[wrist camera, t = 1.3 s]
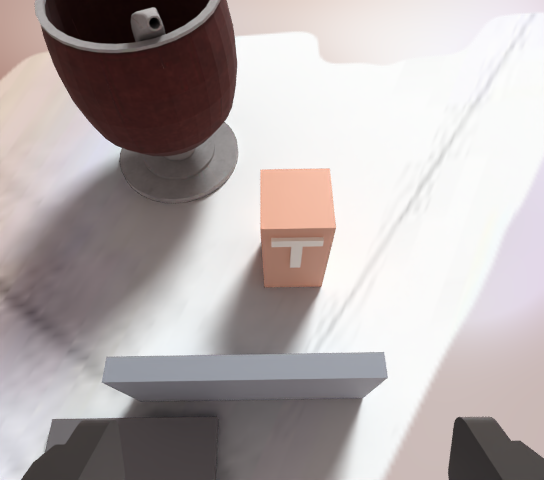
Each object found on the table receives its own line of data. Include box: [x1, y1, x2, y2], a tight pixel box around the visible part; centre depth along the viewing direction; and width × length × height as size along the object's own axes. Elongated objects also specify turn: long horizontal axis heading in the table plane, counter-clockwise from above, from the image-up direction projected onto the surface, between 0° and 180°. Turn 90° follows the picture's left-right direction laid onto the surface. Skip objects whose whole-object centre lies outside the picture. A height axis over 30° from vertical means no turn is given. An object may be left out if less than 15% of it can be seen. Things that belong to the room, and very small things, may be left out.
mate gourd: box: [35, 0, 238, 203], centre depth 34 cm, size 16×14×20 cm
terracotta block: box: [261, 169, 336, 288], centre depth 33 cm, size 5×5×10 cm
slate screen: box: [102, 352, 388, 402], centre depth 28 cm, size 17×2×8 cm, turn 91°
